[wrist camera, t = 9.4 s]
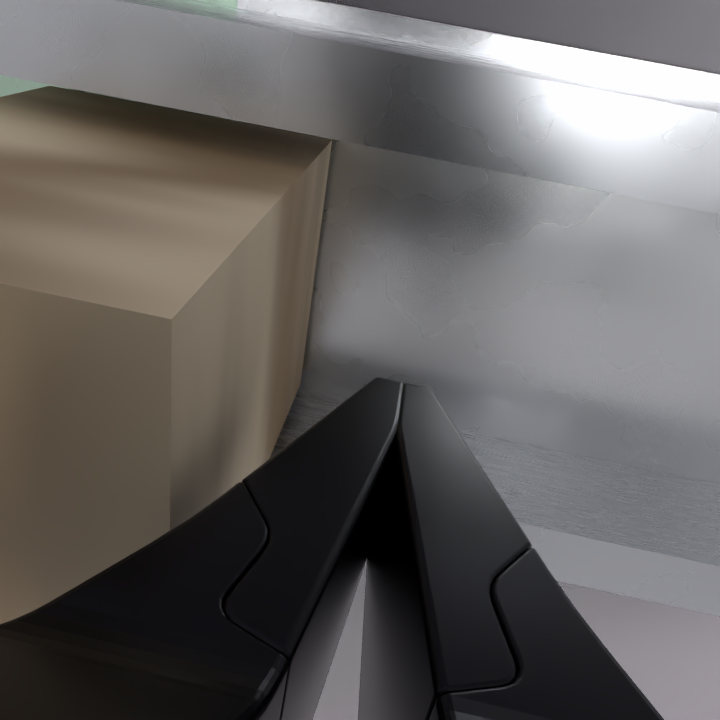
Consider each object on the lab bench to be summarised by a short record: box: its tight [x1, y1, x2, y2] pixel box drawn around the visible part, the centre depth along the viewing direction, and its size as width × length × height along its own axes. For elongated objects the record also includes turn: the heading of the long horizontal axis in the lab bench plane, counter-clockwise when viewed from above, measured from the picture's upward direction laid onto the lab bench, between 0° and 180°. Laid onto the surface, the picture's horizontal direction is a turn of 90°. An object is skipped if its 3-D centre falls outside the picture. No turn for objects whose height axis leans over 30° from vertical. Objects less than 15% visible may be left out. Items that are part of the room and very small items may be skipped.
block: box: [0, 86, 332, 624], centre depth 9 cm, size 5×5×7 cm
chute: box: [0, 0, 720, 617], centre depth 11 cm, size 26×9×4 cm, turn 81°
